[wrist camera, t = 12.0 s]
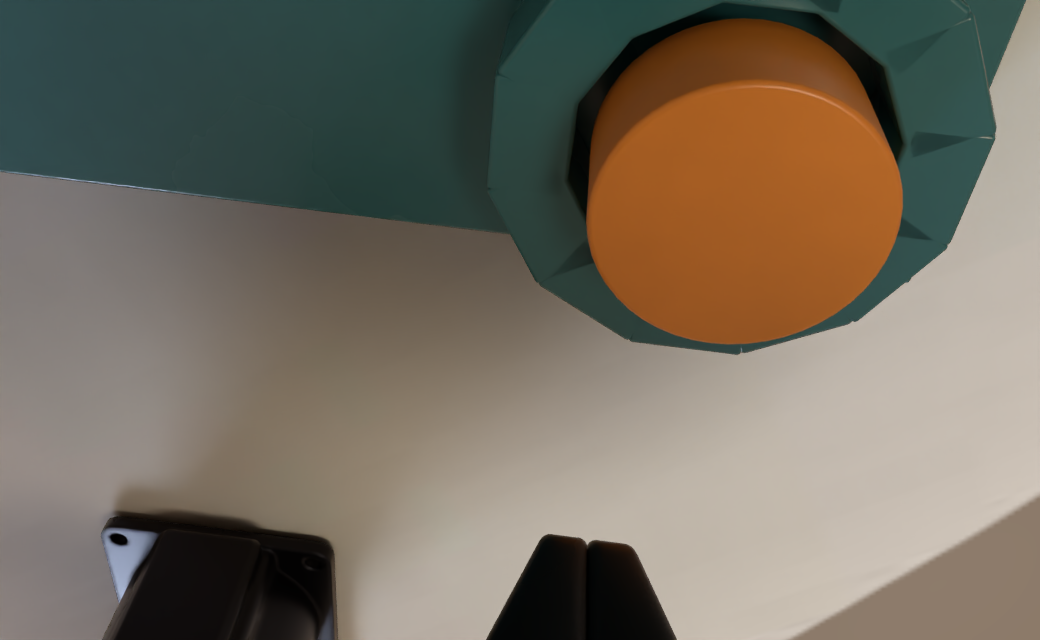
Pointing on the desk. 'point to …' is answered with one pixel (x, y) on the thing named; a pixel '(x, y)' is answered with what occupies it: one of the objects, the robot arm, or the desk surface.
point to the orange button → (740, 184)
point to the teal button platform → (459, 110)
